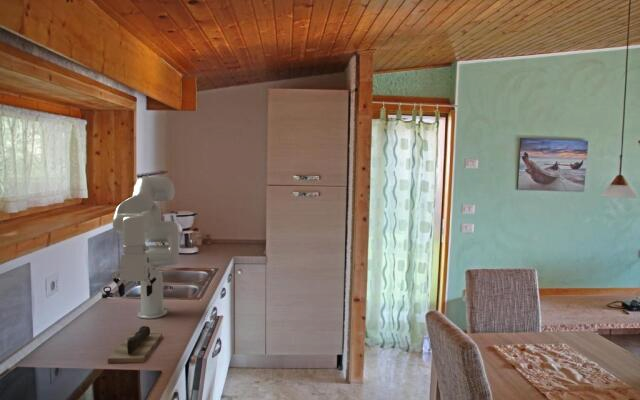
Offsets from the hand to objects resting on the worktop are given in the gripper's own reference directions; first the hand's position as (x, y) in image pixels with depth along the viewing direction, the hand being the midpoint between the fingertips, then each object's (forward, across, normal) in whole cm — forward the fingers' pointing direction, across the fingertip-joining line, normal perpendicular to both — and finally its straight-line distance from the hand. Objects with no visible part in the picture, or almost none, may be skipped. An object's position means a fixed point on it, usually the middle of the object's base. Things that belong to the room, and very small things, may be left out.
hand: (135, 295), depth 175 cm
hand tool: (+19, -1, 0) cm, 19 cm away
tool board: (+20, 0, 0) cm, 20 cm away
